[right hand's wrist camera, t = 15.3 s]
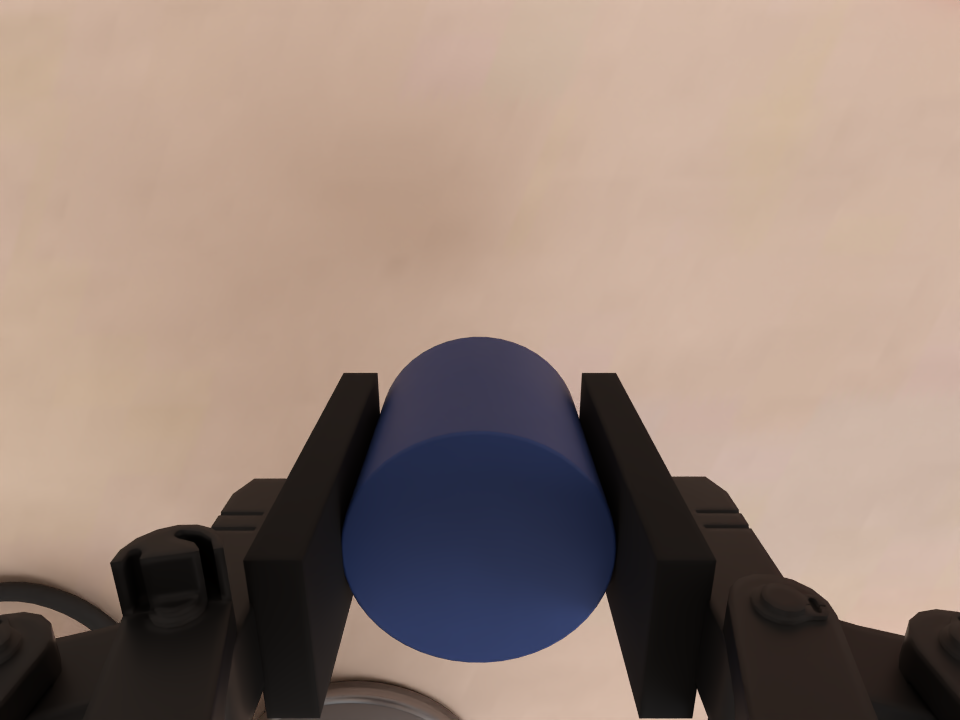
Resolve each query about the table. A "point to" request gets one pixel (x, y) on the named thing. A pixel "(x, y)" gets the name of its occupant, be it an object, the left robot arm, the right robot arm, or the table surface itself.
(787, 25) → the table surface
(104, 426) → the table surface
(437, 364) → the cylinder
